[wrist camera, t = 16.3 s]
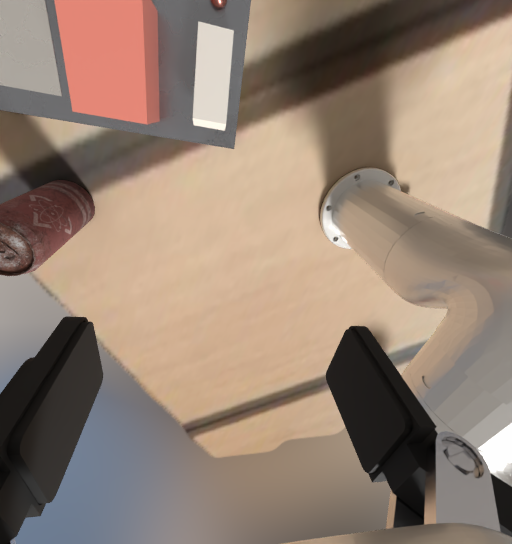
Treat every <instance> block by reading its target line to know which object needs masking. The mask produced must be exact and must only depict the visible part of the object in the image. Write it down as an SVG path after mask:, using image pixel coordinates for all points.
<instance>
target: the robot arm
mask: <svg viewBox="0 0 512 544" xmlns="http://www.w3.org/2000/svg"><path fill="white" fill-rule="evenodd" d="M355 175H356V177H355ZM354 177H355V178H354ZM327 206H328V207H327ZM326 207H327V208H326ZM320 223H321V227H322V230H323V232H324V234H325V235H326V237H327V238H328V239H329V240H330V241H331V242H332V243H333V244H335V245H337V246H338V247H341V248H345V249H353V250H354V251H355V252H356V253H357V254H358V255H359V256H360V257H361V258H362V259H363V260H364V261H365V262H366V264H367V265H368V266H369V267H370V268H371V269H372V270H373V271H374V272H375V273H376V274H377V275H378V276H379V277H380V278H381V279H382V280H383V281H384V282H385V283H386V284H387V285H388V286H389V287H390V288H391V289H392V290H393V291H394V292H395V293H396V294H397V295H399V296H400V297H401V298H402V299H404V300H405V301H407V302H409V303H412V304H414V305H417V306H421V307H427V308H440V309H448V311H447V314H446V316H445V317H444V319H443V320H442V322H441V323H440V324H439V326H438V327H437V329H436V331H435V332H434V334H433V335H432V336H431V337H430V339H429V340H428V341H427V342H426V343H425V345H424V346H423V347H422V348H421V350H420V351H419V352H418V353H417V355H416V356H415V357H414V358H413V360H412V361H411V362H410V364H409V365H408V366H407V367H406V369H405V370H404V372H403V374H402V375H400V373H399V372H398V371H397V369H396V368H395V366H394V365H393V363H392V362H391V361H390V359H389V358H388V356H387V355H386V353H385V352H384V351H383V349H382V348H381V346H380V345H379V343H378V342H377V341H376V339H375V338H374V336H373V335H372V333H371V332H370V331H369V329H368V328H367V327H365V326H351V327H350V328H349V329H347V330H346V331H345V333H344V335H343V337H342V339H341V341H340V344H339V346H338V348H337V350H336V352H335V354H334V357H333V359H332V361H331V363H330V365H329V368H328V370H327V372H326V380H327V383H328V385H329V388H330V390H331V392H332V395H333V397H334V400H335V402H336V404H337V407H338V409H339V412H340V414H341V417H342V419H343V421H344V424H345V426H346V429H347V431H348V433H349V436H350V438H351V441H352V443H353V446H354V448H355V450H356V453H357V455H358V458H359V460H360V463H361V465H362V467H363V469H364V470H365V472H367V473H369V476H370V478H371V480H372V482H381V481H386V480H387V481H388V484H389V486H390V488H391V493H390V501H389V508H388V516H387V524H386V529H382V530H375V531H368V532H361V533H353V534H346V535H339V536H332V537H324V538H317V539H310V540H303V541H296V542H289V543H282V544H512V239H511V238H509V237H506V236H503V235H501V234H498V233H495V232H493V231H490V230H488V229H485V228H483V227H481V226H478V225H476V224H474V223H471V222H469V221H467V220H464V219H462V218H460V217H458V216H455V215H453V214H451V213H449V212H446V211H444V210H442V209H440V208H437V207H435V206H433V205H431V204H428V203H426V202H424V201H422V200H419V199H417V198H415V197H413V196H410V195H408V194H406V193H404V192H401V189H400V185H399V184H398V182H397V180H396V179H395V178H394V177H393V176H392V175H391V174H390V173H388V172H386V171H384V170H381V169H378V168H372V167H371V168H361V169H357V170H354V171H352V172H350V173H348V174H346V175H345V176H343V177H342V178H340V179H339V180H338V181H337V182H336V183H335V184H334V185H333V186H332V188H331V189H330V190H329V192H328V193H327V195H326V197H325V199H324V201H323V204H322V207H321V212H320ZM102 380H103V371H102V366H101V361H100V356H99V351H98V346H97V341H96V336H95V331H94V326H93V323H92V322H88V320H87V318H86V317H64V318H63V319H62V320H61V322H60V323H59V325H58V326H57V327H56V329H55V330H54V331H53V333H52V334H51V336H50V337H49V338H48V340H47V341H46V343H45V344H44V345H43V347H42V348H41V350H40V351H39V352H38V354H37V355H36V356H35V357H34V358H30V359H28V360H27V361H25V362H24V363H23V365H22V366H21V367H20V368H19V370H18V371H17V372H16V374H15V375H14V376H13V378H12V379H11V381H10V382H9V383H8V384H7V386H6V387H5V389H4V390H3V391H2V392H1V394H0V544H16V543H15V539H14V538H15V537H16V536H17V534H18V532H19V530H20V528H21V526H22V524H23V521H24V519H25V518H26V517H36V516H41V513H42V511H43V509H44V507H45V504H46V503H50V502H52V500H53V499H54V497H55V496H56V493H57V491H58V489H59V486H60V484H61V481H62V479H63V476H64V474H65V472H66V469H67V467H68V464H69V462H70V459H71V457H72V455H73V452H74V449H75V447H76V445H77V442H78V440H79V438H80V435H81V433H82V430H83V427H84V425H85V423H86V420H87V418H88V416H89V413H90V411H91V408H92V406H93V403H94V401H95V398H96V396H97V393H98V391H99V389H100V386H101V383H102Z"/></svg>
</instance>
